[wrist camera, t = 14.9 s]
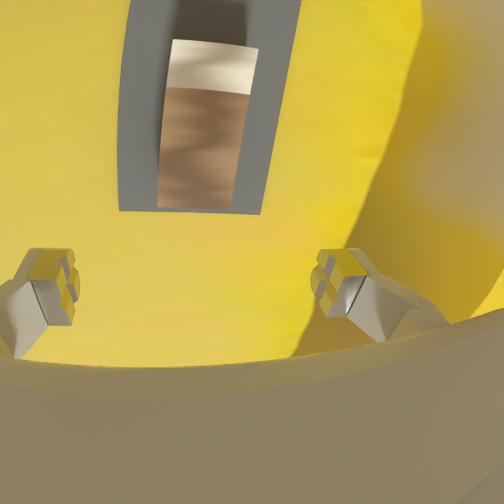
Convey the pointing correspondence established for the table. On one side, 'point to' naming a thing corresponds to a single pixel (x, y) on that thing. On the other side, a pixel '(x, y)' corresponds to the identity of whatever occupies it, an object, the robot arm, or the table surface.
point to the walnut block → (203, 123)
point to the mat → (155, 79)
